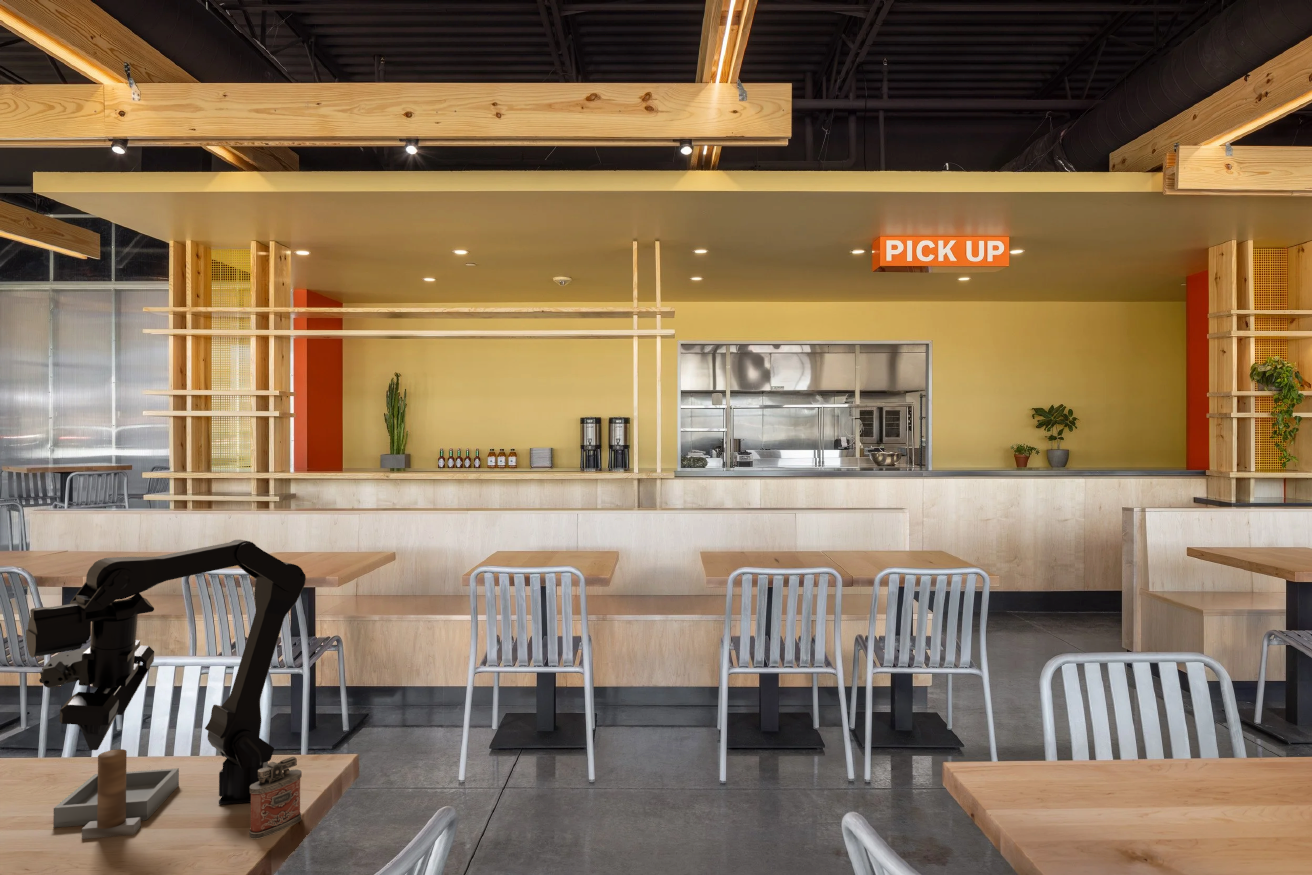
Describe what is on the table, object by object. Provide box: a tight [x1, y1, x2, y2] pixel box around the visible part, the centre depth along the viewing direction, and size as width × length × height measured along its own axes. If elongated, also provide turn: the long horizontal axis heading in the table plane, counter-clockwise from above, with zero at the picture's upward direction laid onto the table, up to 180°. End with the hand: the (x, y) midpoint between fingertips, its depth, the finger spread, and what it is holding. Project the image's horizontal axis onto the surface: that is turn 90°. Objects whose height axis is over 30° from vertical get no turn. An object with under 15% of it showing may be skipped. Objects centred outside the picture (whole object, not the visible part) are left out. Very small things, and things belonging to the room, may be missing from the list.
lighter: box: [248, 756, 303, 840], centre depth 123 cm, size 8×3×10 cm, turn 148°
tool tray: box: [52, 767, 180, 828], centre depth 130 cm, size 13×13×3 cm
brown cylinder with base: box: [81, 748, 142, 840], centre depth 121 cm, size 7×4×12 cm, turn 102°
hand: (106, 731), depth 124 cm, fingers open, 9 cm apart
